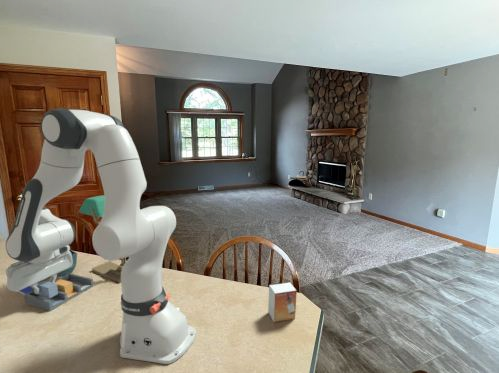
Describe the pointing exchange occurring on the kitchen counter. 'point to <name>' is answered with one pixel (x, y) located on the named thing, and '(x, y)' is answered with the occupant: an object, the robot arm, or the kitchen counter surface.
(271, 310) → the small box
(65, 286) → the orange plug
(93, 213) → the banker's lamp
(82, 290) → the grey compartment tray
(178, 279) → the kitchen counter surface
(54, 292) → the slate-blue plug
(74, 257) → the flower pot
